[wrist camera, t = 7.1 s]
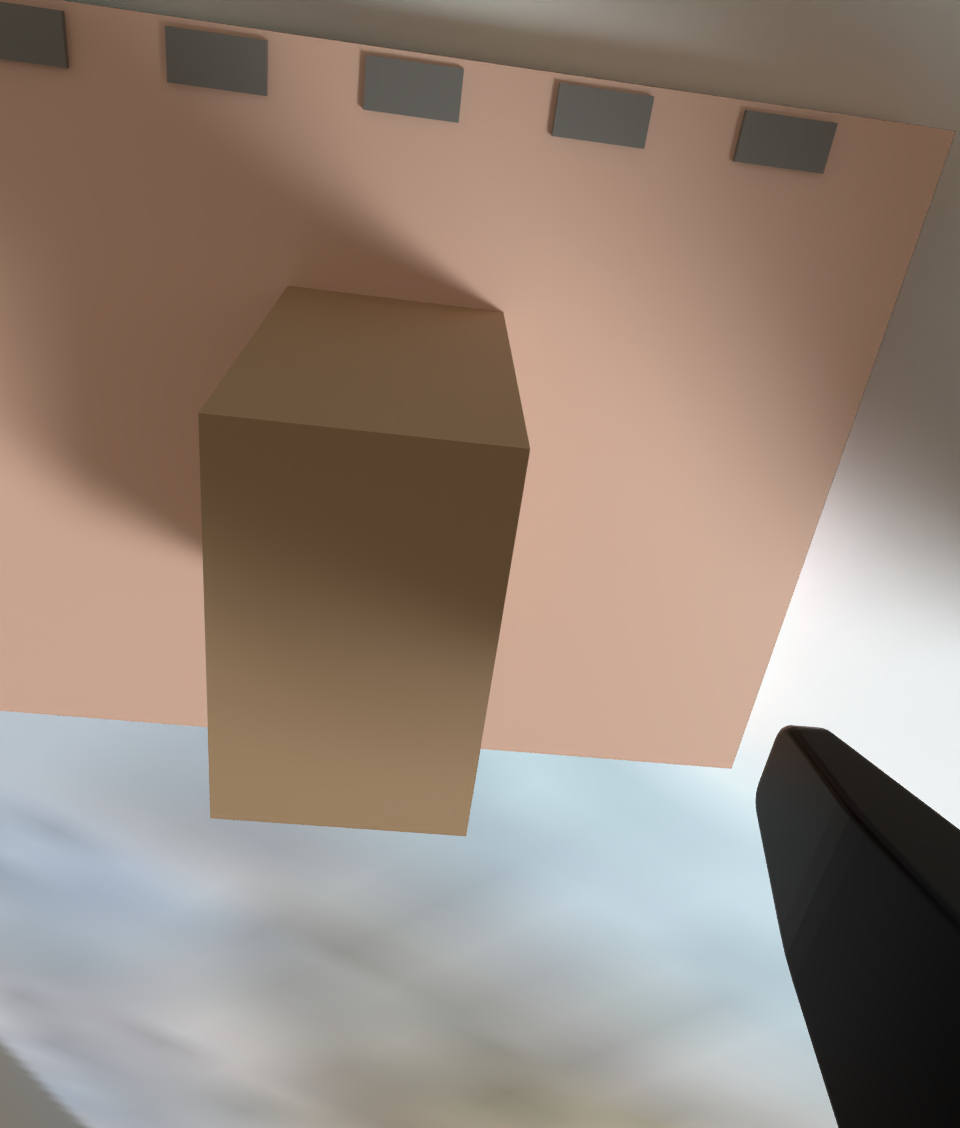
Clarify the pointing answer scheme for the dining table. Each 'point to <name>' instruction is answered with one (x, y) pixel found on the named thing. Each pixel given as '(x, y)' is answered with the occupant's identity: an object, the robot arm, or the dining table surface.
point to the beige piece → (415, 399)
